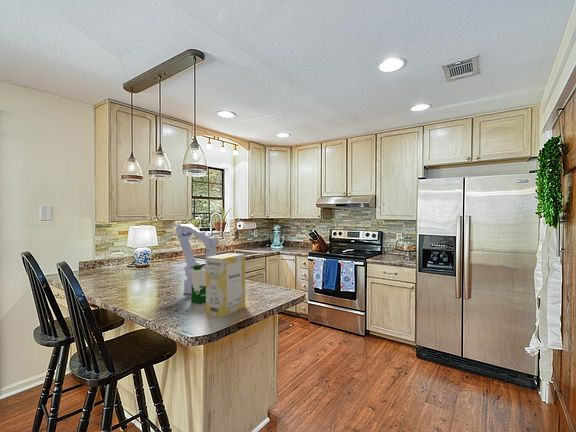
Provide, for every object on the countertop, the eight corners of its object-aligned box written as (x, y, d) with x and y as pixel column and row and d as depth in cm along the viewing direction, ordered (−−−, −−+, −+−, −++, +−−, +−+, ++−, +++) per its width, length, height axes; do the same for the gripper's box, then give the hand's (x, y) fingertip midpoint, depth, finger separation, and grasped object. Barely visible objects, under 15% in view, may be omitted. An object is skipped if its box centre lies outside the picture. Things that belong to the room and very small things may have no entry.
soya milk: (200, 298, 173) (200, 264, 173) (211, 300, 168) (211, 265, 168) (188, 302, 166) (188, 266, 165) (199, 304, 161) (199, 267, 161)
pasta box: (222, 317, 141) (222, 258, 141) (206, 314, 146) (205, 257, 145) (245, 306, 157) (245, 254, 157) (229, 304, 162) (229, 252, 162)
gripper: (210, 259, 169) (210, 282, 169) (223, 255, 183) (223, 277, 183) (199, 258, 171) (199, 281, 171) (213, 255, 185) (213, 276, 185)
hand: (211, 279), depth 177 cm, fingers closed
